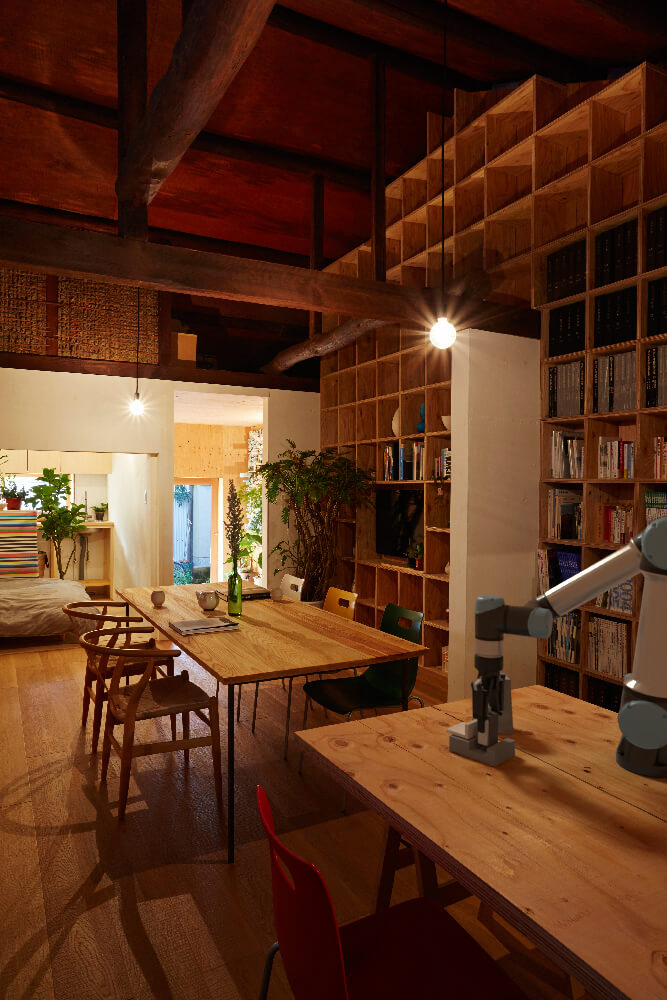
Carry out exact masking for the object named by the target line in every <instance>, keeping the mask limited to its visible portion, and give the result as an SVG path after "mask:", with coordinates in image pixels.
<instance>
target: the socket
mask: <svg viewBox="0 0 667 1000" xmlns="http://www.w3.org/2000/svg"><path fill="white" fill-rule="evenodd" d="M448 740H449V741H448V742H449V743H448V745H449V747H448V748H449V749H448V751H450V752H452V753H456V754H458V755H461V756H463V757H467V758H470V759H473V760H475V761H478V762H481V763H484V764H487V765H488V766H493V767H498V765H500V764H501V763H504V762H505V761H507V760H509V759H511V758H512V757H514V756H516V740H515V739H513V738H509V737H507V738H504V739H502V740H501V741H498V743H496V744H494V745H493V746H491V747H488V746H485V745H482V744H480V743H477V735H476V736H474V737H472V738H470V739H466V738H463V737H460V736H457V735H454V734H450V735H449V737H448Z"/></svg>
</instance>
